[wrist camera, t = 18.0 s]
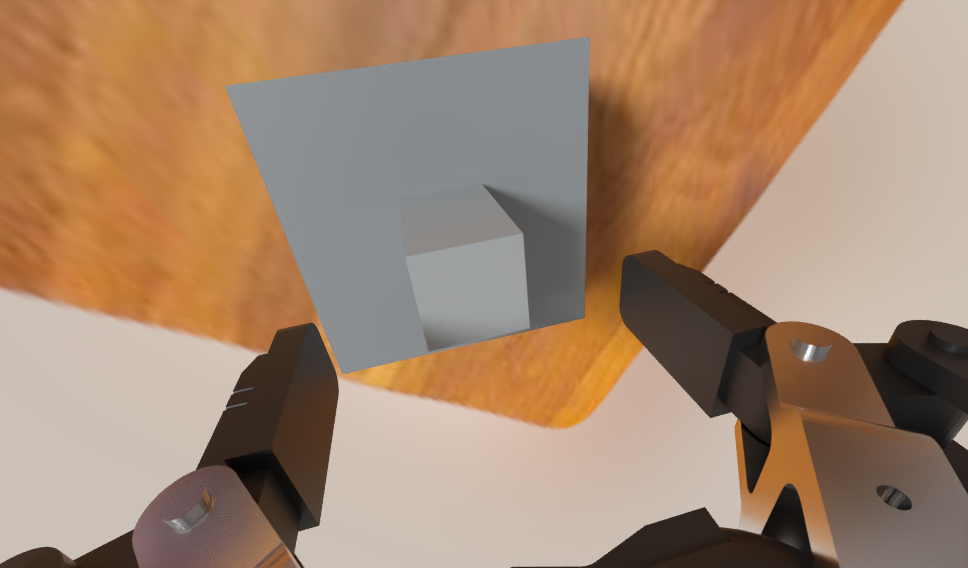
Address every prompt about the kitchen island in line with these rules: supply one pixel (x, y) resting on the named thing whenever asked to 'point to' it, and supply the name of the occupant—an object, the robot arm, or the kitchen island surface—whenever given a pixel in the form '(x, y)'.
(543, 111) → the grey block
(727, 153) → the kitchen island surface
